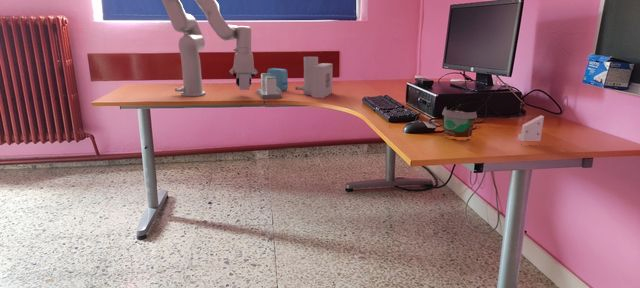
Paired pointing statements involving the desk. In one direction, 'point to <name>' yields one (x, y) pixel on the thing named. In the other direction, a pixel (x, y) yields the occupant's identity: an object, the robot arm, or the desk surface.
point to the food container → (458, 123)
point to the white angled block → (532, 130)
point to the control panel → (317, 78)
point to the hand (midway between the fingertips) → (243, 85)
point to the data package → (280, 78)
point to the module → (243, 81)
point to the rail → (263, 94)
